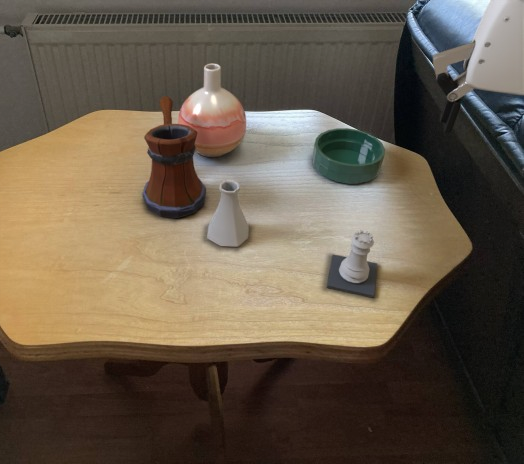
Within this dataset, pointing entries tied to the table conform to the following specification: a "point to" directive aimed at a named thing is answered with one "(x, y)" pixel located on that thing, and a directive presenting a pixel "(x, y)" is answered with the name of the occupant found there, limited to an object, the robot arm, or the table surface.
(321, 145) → the bowl
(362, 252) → the rook chess piece
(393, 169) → the table surface
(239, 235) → the flask
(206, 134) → the vase
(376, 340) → the table surface
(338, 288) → the mat
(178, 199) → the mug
